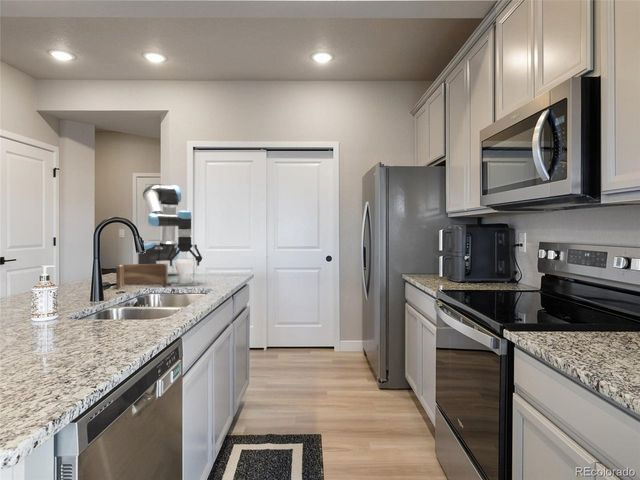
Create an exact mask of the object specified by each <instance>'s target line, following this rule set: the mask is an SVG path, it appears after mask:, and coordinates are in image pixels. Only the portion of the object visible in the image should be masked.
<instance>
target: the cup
mask: <svg viewBox="0 0 640 480" xmlns="http://www.w3.org/2000/svg"><path fill="white" fill-rule="evenodd" d="M174 264H175V269H176V272H177V274H178V281H177V282H178V284H189V283H192V272H193V270H194V267H195V261H194V258H193V257H178V258H177V259H176V260H175V262H174Z"/></svg>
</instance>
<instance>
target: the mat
mask: <svg viewBox="0 0 640 480" xmlns="http://www.w3.org/2000/svg"><path fill="white" fill-rule="evenodd" d="M191 281H192V280H191ZM193 285H197V286H199V281H198V280H195V281H192V283H189V284H178V281H172V282H171V284H170V287H171V286H174V287H191V286H193Z"/></svg>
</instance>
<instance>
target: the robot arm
mask: <svg viewBox="0 0 640 480" xmlns="http://www.w3.org/2000/svg"><path fill="white" fill-rule="evenodd" d="M142 199H143V200H144V202H145V203H146V205H147V208H148V212H149V214H148V216H147V217H148V218H147V220H148V221H147V222H148V225H149V226H150V227H162V231H161V240H160V241H159V244H157V243H156V242H149V243H148V242H147V243H143V244H144V246H145V250H146V253H144V254H139V253H138V252H137V264H157V262H166V261H167V262H169V266H170V267H171V272H172V273H174V271H175V270H174V261H176V259H177V258H179V255H180V253H185V252H186V253H187V252H189V253H190V254H191V255H192V256H193V257H194V258H195V272H198V266H200V261H201V260H203V257H202V255H201V253H200V251H199V249H198V245H197V244H196V243H195V244H192V211H190V210H178V212H177V207H178V206H179V203H181V202H182V192H181V188H180V186H178V185H174V184H162V183H161V184H158V183H153V184H151V185H150V184H149V185H148V186H147V187H146V188H145V189H143V192H142ZM176 227H177V235H178V237H177V240H176ZM192 248H193V249H195V251H196V253H197V254H195V252H194V251H193V250H192ZM197 255H198V256H197Z"/></svg>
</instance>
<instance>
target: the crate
mask: <svg viewBox="0 0 640 480" xmlns="http://www.w3.org/2000/svg"><path fill="white" fill-rule="evenodd" d="M115 268H116V270H115V272H116V273H115V274H116V281H115V282H116V283H115V286H116V290H118V289H119V288H120V289H121V288H123V287H124V286H126V285H127V286H128V285H130V284H133V285H153V284H156V283H158V284H162V287H163V286H166V287H167V286H168V283H169V282H168V281H169V280H168V277H169V276H168V275H169V274H168V263H156V264H138V263H135V264H133V263H131V264H120V265H116V266H115ZM124 284H126V285H124ZM156 285H157V284H156ZM130 286H131V285H130ZM120 289H119V290H120Z"/></svg>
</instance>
